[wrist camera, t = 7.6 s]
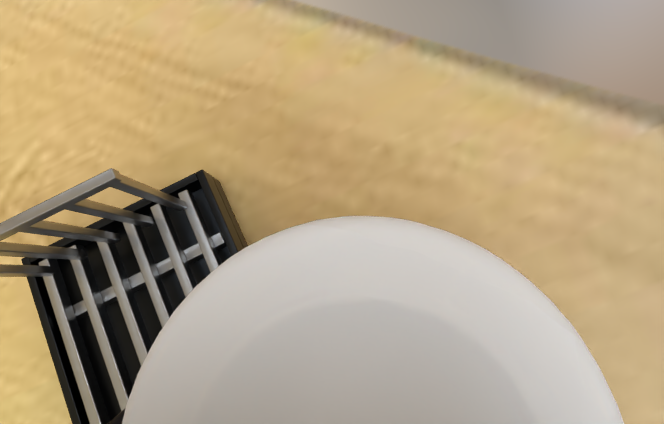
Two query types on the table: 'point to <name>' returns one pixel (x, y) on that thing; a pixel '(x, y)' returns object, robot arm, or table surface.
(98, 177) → the dish rack
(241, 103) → the table surface
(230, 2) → the table surface
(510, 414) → the sprinkles bottle
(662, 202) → the table surface
